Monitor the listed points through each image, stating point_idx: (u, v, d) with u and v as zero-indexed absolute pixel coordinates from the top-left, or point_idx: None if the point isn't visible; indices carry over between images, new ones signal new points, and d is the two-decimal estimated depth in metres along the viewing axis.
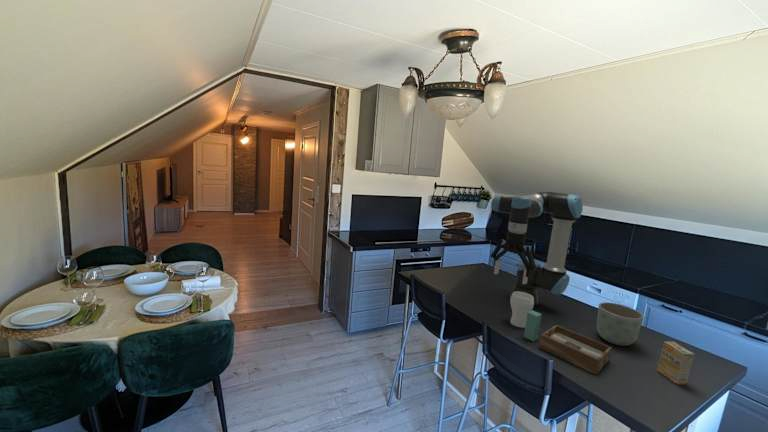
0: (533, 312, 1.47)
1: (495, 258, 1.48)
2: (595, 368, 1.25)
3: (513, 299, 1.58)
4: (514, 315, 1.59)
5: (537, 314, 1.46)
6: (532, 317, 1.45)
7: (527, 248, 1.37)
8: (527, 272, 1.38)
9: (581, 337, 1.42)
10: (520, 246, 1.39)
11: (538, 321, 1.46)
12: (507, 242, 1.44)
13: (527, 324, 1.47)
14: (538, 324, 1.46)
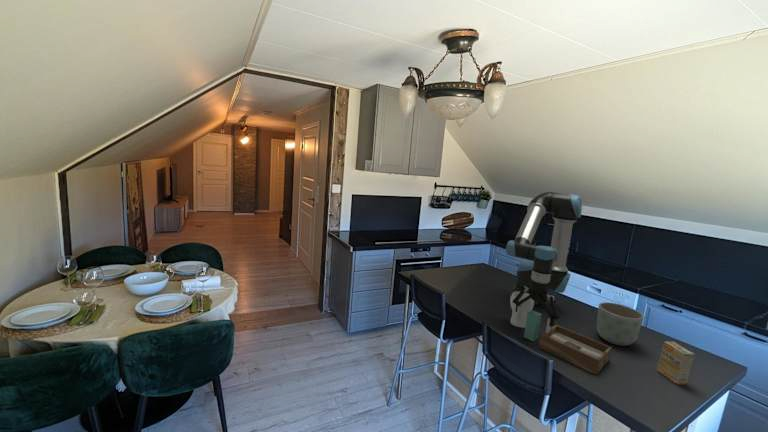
0: (533, 312, 1.47)
1: (517, 304, 1.51)
2: (595, 368, 1.25)
3: (513, 299, 1.58)
4: (514, 315, 1.59)
5: (537, 314, 1.46)
6: (532, 317, 1.45)
7: (551, 298, 1.40)
8: (551, 321, 1.41)
9: (581, 337, 1.42)
10: (543, 295, 1.42)
11: (538, 321, 1.46)
12: (530, 290, 1.47)
13: (527, 324, 1.47)
14: (538, 324, 1.46)
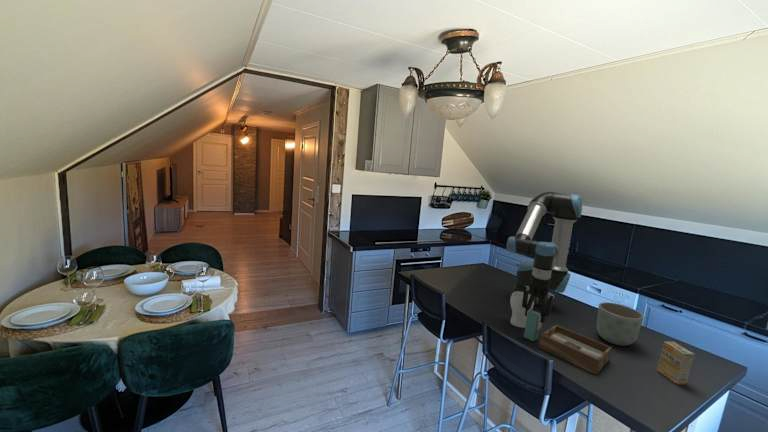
0: (533, 312, 1.47)
1: (527, 308, 1.48)
2: (595, 368, 1.25)
3: (513, 299, 1.58)
4: (514, 315, 1.59)
5: (537, 314, 1.46)
6: (532, 317, 1.45)
7: (551, 297, 1.40)
8: (541, 318, 1.44)
9: (581, 337, 1.42)
10: (545, 292, 1.42)
11: None
12: (531, 286, 1.46)
13: (527, 324, 1.47)
14: None
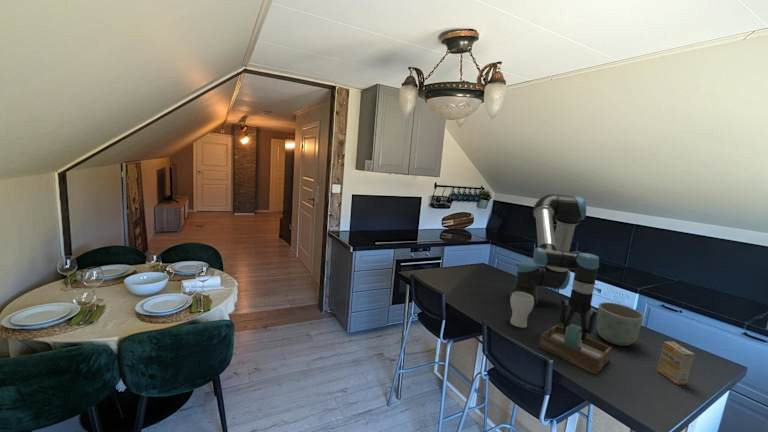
0: (573, 326, 1.37)
1: (565, 324, 1.38)
2: (595, 368, 1.25)
3: (513, 299, 1.58)
4: (514, 315, 1.59)
5: (578, 328, 1.35)
6: (573, 332, 1.35)
7: (594, 313, 1.30)
8: (582, 335, 1.34)
9: None
10: (587, 307, 1.32)
11: None
12: (570, 300, 1.37)
13: (567, 339, 1.37)
14: None
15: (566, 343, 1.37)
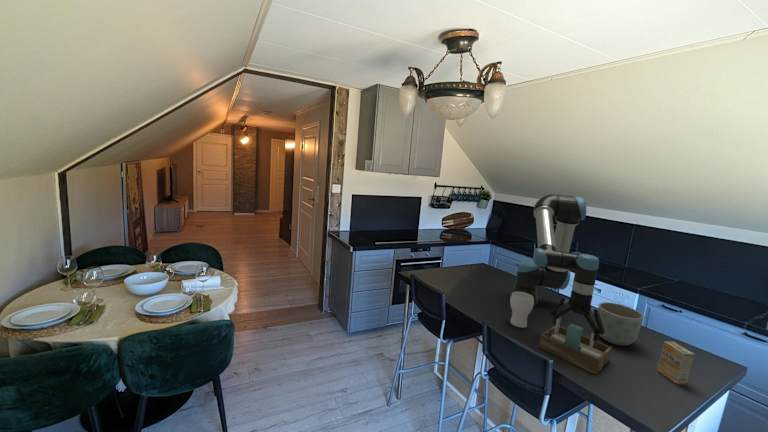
0: (573, 326, 1.37)
1: (556, 316, 1.41)
2: (595, 368, 1.25)
3: (513, 299, 1.58)
4: (514, 315, 1.59)
5: (578, 328, 1.35)
6: (573, 332, 1.35)
7: (595, 311, 1.30)
8: (595, 336, 1.31)
9: (581, 337, 1.42)
10: (587, 308, 1.32)
11: (579, 336, 1.35)
12: (571, 301, 1.37)
13: (567, 339, 1.37)
14: (579, 339, 1.36)
15: (566, 343, 1.37)
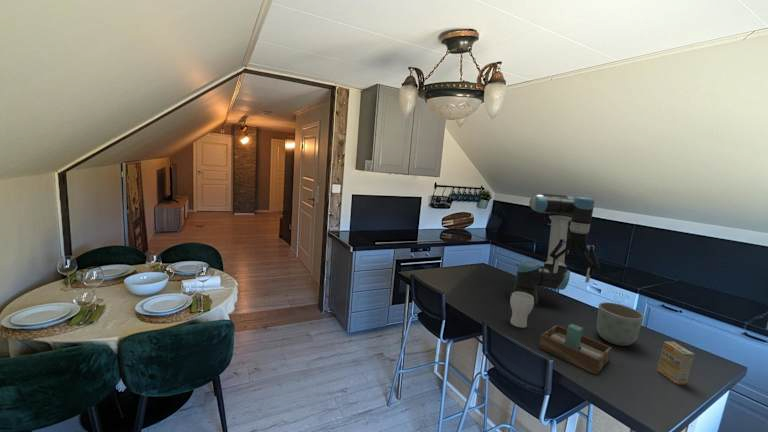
0: (573, 326, 1.37)
1: (555, 257, 1.52)
2: (595, 368, 1.25)
3: (513, 299, 1.58)
4: (514, 315, 1.59)
5: (578, 328, 1.35)
6: (573, 332, 1.35)
7: (591, 247, 1.40)
8: (590, 271, 1.41)
9: (581, 337, 1.42)
10: (583, 245, 1.43)
11: (579, 336, 1.35)
12: (568, 242, 1.47)
13: (567, 339, 1.37)
14: (579, 339, 1.36)
15: (566, 343, 1.37)
